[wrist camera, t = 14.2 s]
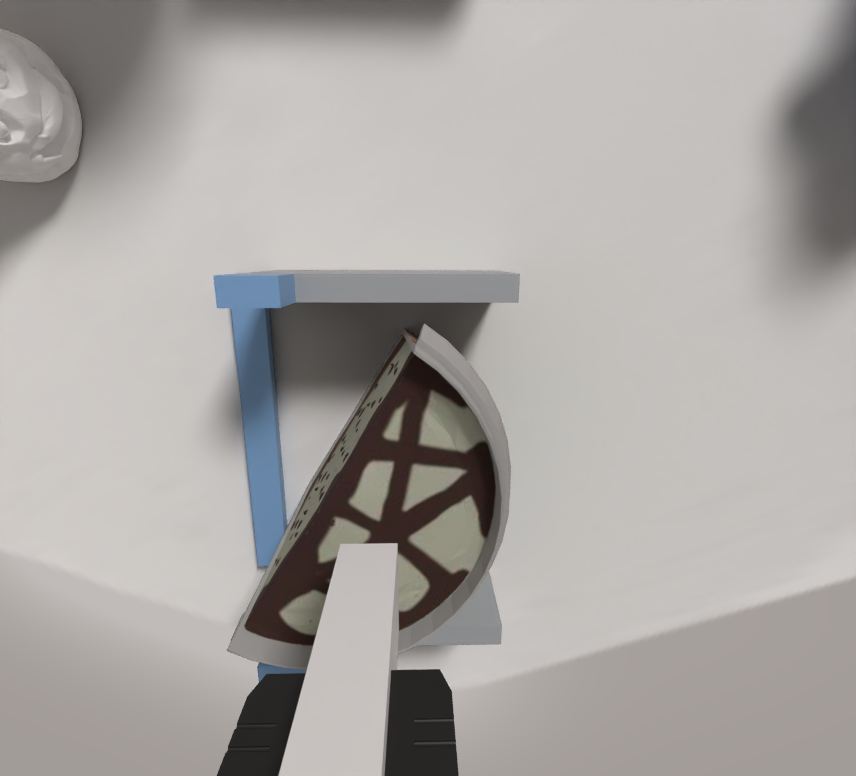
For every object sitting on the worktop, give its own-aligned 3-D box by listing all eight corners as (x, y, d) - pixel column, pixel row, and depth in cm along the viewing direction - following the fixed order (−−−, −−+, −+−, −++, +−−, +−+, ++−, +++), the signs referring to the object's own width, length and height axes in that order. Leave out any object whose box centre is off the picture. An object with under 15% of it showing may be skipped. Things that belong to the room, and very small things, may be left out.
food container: (397, 558, 26) (386, 739, 16) (295, 505, 25) (218, 662, 15) (529, 368, 23) (609, 448, 14) (421, 300, 22) (425, 333, 13)
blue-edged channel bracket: (513, -142, 18) (571, -383, 11) (485, 572, 26) (509, 682, 19) (189, -149, 18) (49, -400, 11) (263, 575, 26) (209, 688, 19)
